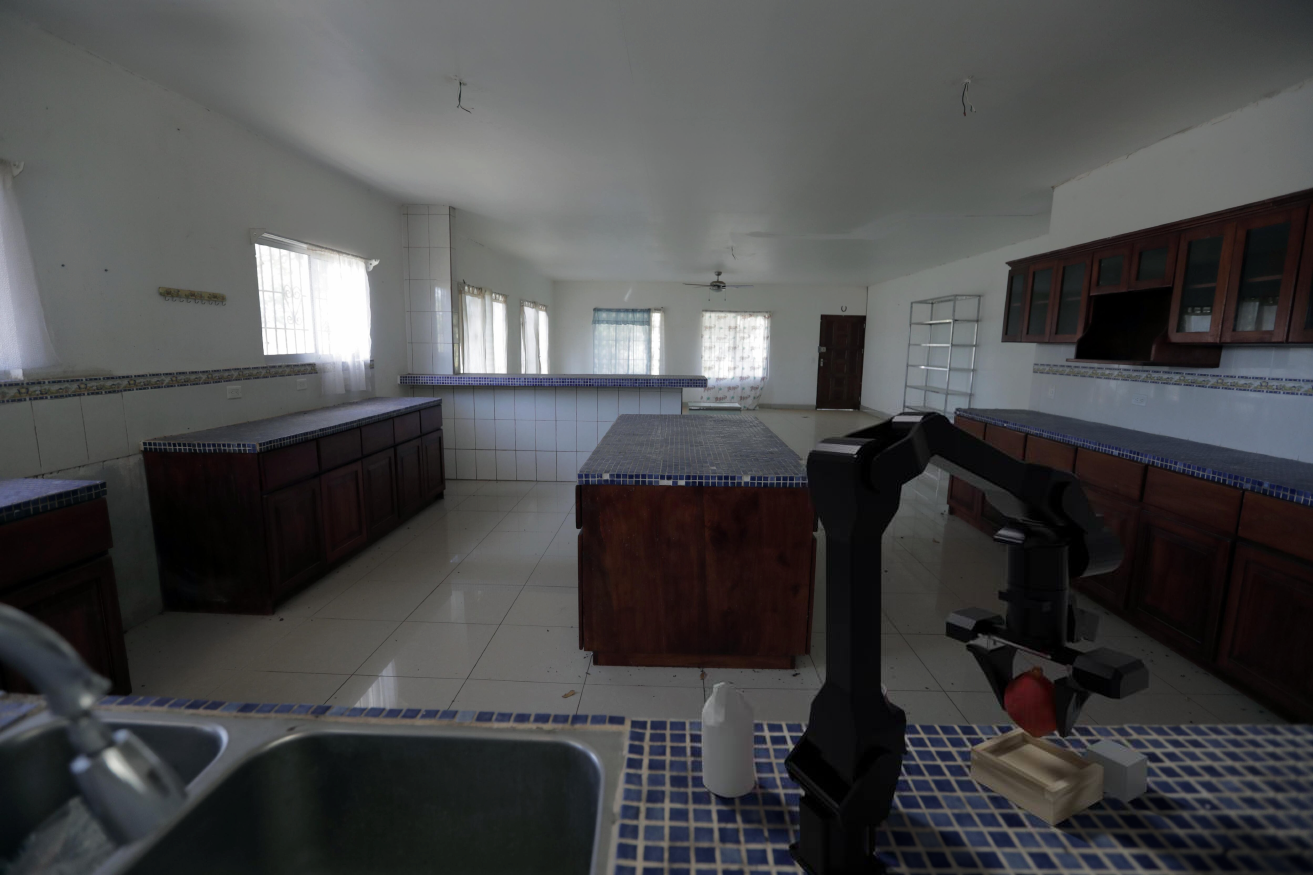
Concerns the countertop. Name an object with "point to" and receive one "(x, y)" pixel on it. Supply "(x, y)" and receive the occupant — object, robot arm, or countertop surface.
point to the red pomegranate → (1032, 702)
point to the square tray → (1037, 775)
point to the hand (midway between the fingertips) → (1034, 722)
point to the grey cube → (1120, 769)
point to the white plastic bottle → (728, 743)
